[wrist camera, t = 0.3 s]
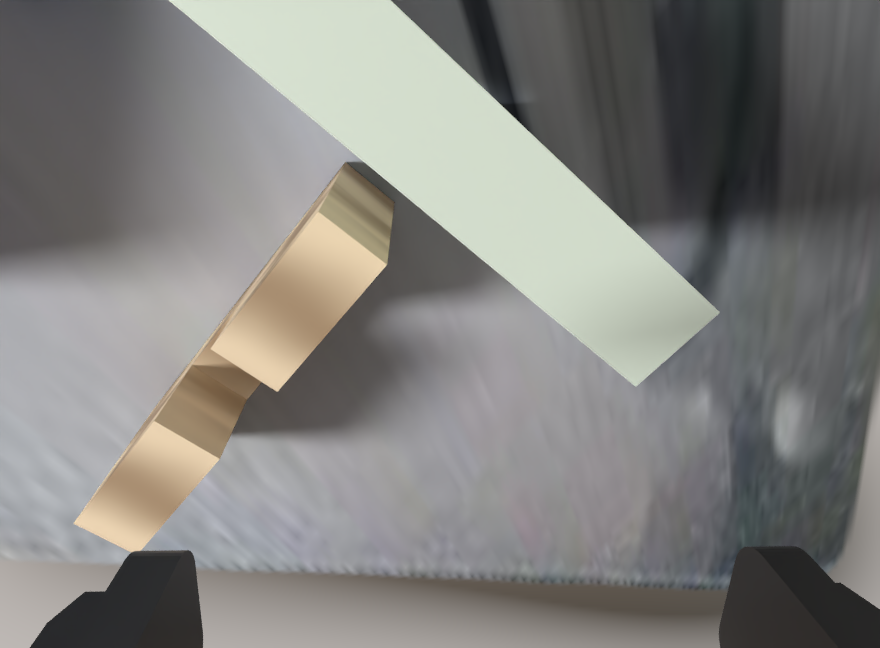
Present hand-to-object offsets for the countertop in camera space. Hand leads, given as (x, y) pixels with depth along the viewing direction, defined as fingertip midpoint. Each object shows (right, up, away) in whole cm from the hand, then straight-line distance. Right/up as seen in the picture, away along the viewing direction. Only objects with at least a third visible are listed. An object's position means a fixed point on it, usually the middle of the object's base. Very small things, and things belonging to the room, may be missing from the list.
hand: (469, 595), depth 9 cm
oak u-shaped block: (-10, +5, +23) cm, 25 cm away
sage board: (-1, +14, +19) cm, 24 cm away
